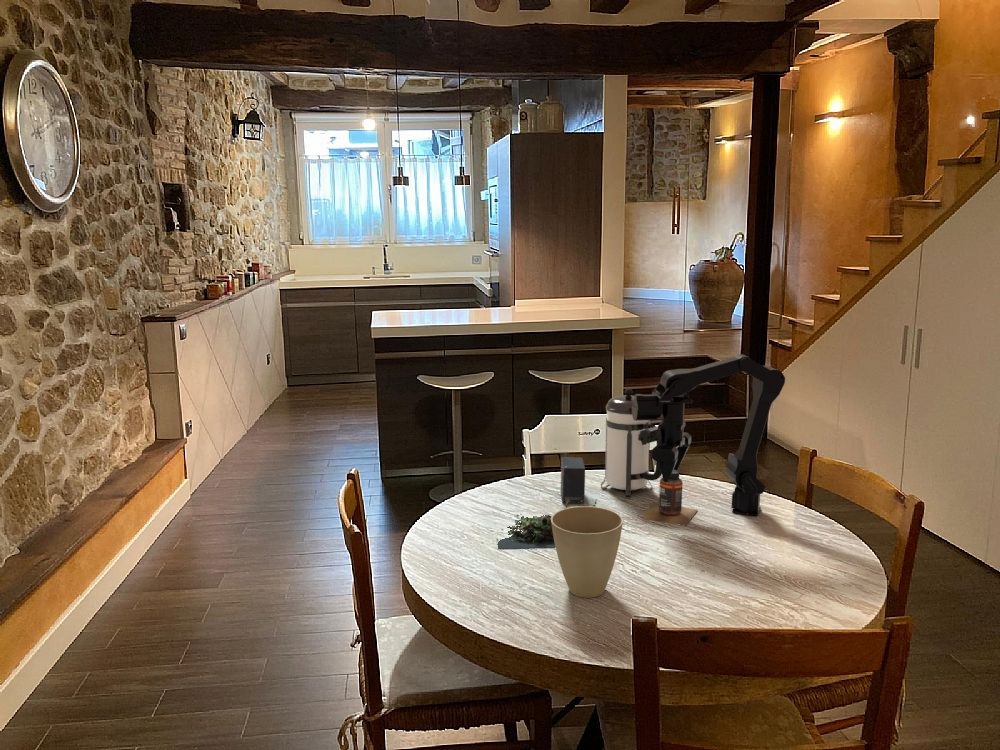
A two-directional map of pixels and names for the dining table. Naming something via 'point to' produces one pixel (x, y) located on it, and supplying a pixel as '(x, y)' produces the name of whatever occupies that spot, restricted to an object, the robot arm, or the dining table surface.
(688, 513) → the walnut trivet
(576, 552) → the plant pot
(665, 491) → the supplement bottle
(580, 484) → the small box
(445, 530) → the dining table surface
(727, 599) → the dining table surface
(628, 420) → the coffee press
